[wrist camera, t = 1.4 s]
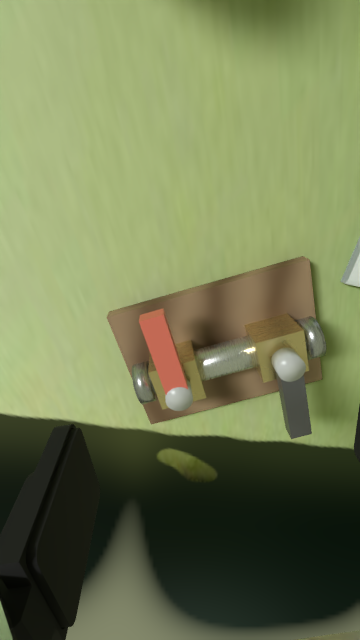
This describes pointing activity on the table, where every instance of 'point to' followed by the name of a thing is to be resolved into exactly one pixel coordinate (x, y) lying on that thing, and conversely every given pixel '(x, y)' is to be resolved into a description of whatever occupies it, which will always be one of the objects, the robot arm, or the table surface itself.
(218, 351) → the steel pipe with valves
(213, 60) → the table surface
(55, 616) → the robot arm
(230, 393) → the pipe board
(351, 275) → the external hard drive
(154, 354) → the red valve lever
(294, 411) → the black valve lever
